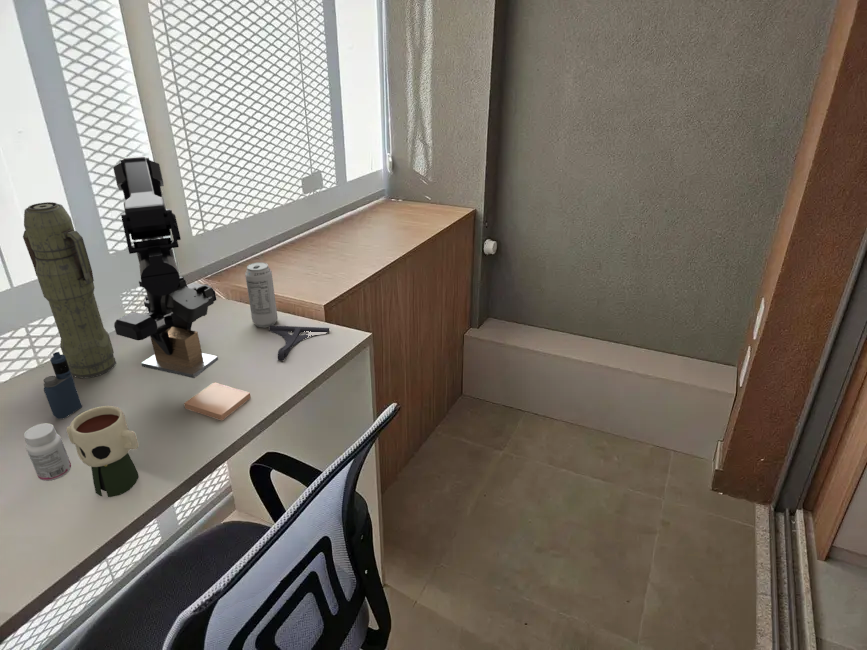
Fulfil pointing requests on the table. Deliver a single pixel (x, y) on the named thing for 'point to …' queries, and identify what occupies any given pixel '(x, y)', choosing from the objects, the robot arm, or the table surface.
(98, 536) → the table surface
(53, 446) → the pill bottle
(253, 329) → the table surface
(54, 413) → the vaping device
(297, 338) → the bracket
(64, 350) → the thermos
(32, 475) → the table surface
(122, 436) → the character mug
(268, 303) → the energy drink can
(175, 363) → the block on grey plate
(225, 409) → the tile
